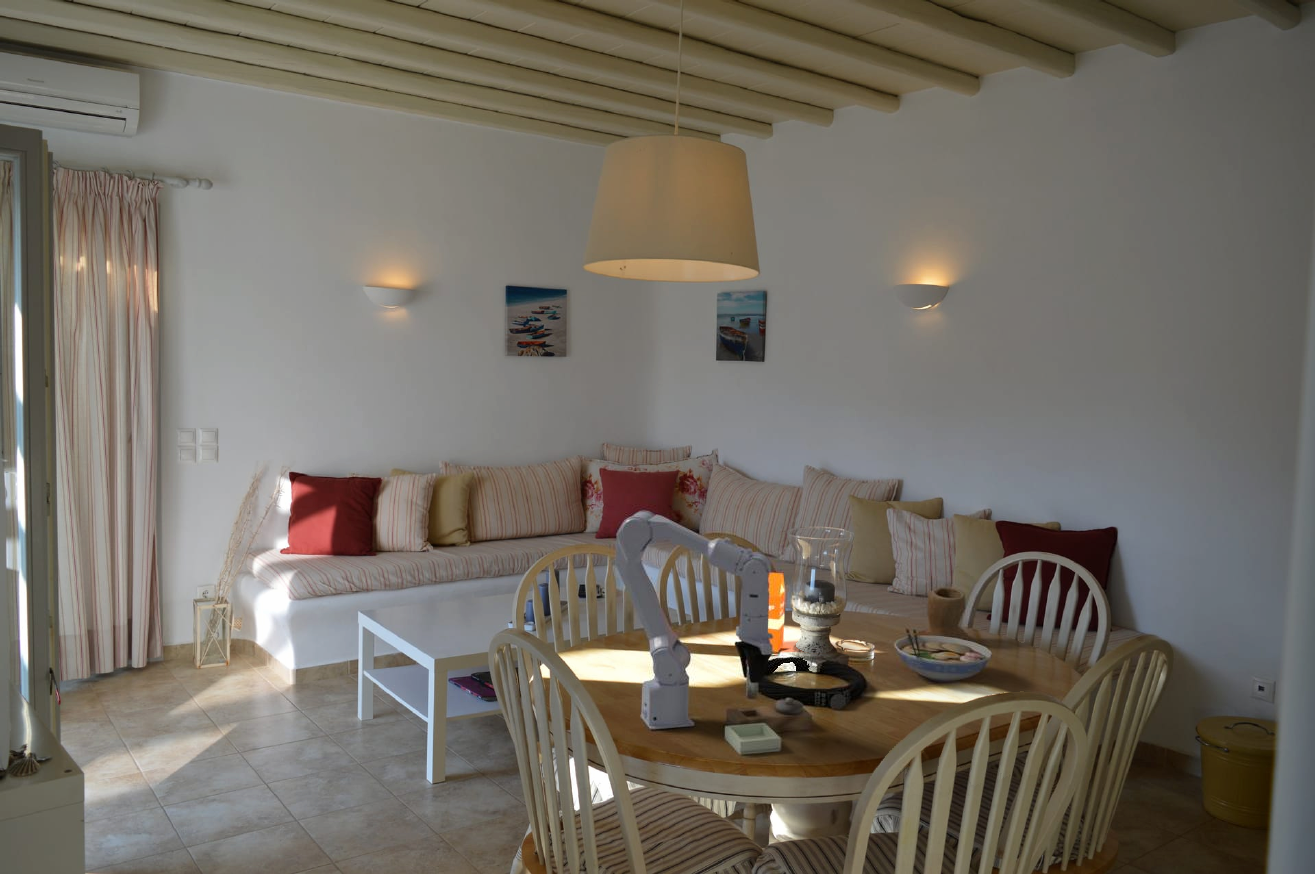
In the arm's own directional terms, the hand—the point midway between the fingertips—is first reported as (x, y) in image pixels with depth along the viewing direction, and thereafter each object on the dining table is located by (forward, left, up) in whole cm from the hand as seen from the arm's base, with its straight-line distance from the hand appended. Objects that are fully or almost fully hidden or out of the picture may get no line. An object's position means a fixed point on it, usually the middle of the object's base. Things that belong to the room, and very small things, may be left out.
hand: (752, 679), depth 201 cm
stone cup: (+77, +50, -11) cm, 93 cm away
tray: (-3, -8, -10) cm, 13 cm away
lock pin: (0, 0, -4) cm, 4 cm away
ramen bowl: (+58, +22, -11) cm, 63 cm away
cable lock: (+23, +22, -11) cm, 34 cm away
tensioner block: (+4, +1, -10) cm, 11 cm away
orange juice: (+26, +56, -11) cm, 63 cm away
